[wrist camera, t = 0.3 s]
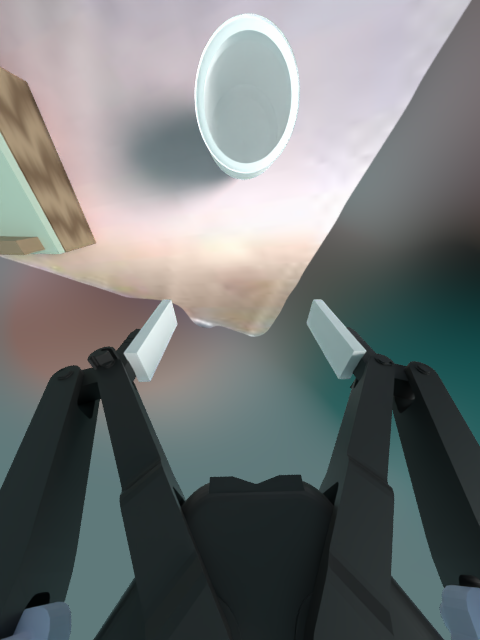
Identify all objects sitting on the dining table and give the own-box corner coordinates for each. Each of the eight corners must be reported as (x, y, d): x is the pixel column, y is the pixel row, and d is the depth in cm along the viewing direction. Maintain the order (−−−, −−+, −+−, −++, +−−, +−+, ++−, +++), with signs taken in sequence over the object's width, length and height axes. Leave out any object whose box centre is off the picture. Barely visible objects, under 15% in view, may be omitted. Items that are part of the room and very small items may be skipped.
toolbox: (-74, 78, 25) (-185, 33, 18) (26, 82, 25) (-48, 39, 18) (30, 242, 37) (-14, 250, 31) (96, 243, 38) (66, 251, 31)
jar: (221, 191, 33) (213, 185, 21) (202, 112, 27) (175, 38, 15) (276, 174, 32) (302, 157, 19) (268, 88, 26) (299, -14, 14)
